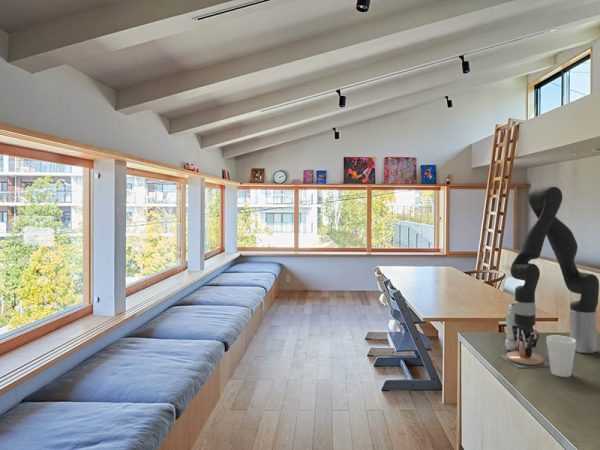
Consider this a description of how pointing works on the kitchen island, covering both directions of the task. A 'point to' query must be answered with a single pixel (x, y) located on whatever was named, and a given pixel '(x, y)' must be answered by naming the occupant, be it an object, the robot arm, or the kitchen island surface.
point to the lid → (521, 358)
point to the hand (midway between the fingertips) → (524, 354)
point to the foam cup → (561, 354)
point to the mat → (524, 364)
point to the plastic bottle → (510, 330)
